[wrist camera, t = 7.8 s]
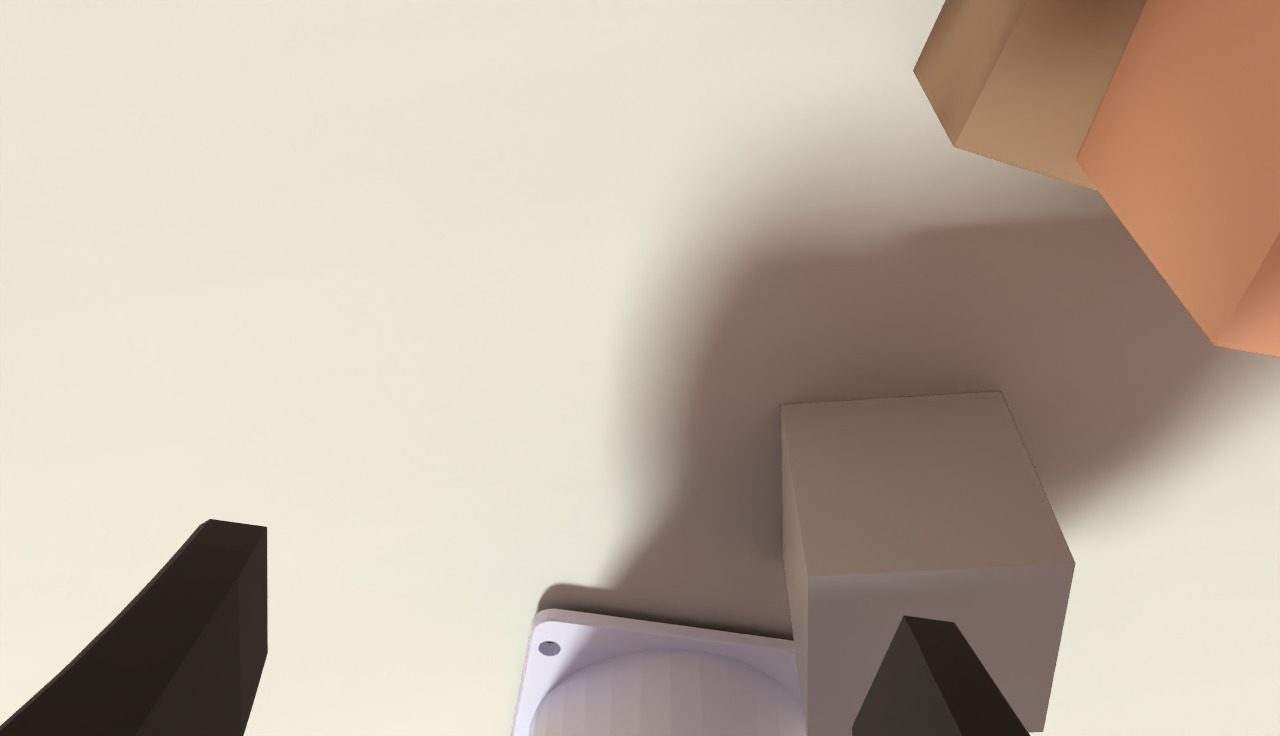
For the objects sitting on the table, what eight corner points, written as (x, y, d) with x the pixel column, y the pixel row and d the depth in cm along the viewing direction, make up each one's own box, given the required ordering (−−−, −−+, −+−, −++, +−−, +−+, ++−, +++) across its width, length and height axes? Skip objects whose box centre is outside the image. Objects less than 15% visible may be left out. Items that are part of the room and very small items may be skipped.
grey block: (980, 548, 26) (1042, 731, 22) (783, 559, 26) (807, 742, 22) (999, 389, 23) (1075, 563, 19) (780, 402, 23) (807, 577, 19)
